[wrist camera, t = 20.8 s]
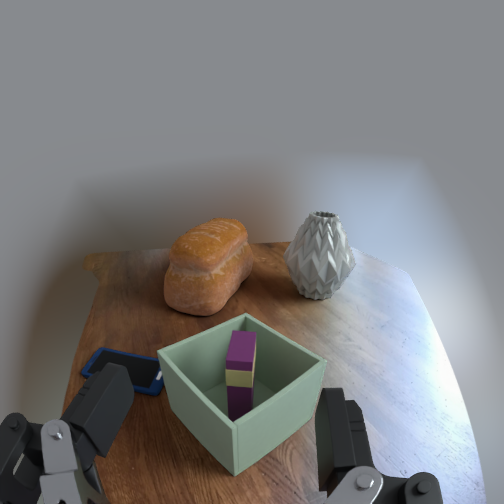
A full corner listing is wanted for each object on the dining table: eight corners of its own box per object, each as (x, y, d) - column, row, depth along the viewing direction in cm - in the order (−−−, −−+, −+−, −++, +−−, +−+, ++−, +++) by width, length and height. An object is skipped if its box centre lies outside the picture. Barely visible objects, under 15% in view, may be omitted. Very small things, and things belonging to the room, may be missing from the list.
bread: (158, 308, 57) (150, 238, 51) (211, 263, 80) (209, 210, 75) (217, 323, 53) (214, 247, 48) (257, 270, 77) (259, 214, 71)
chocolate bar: (233, 399, 35) (232, 329, 31) (253, 400, 35) (256, 331, 30) (228, 428, 30) (224, 360, 26) (250, 430, 30) (253, 362, 26)
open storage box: (245, 370, 41) (245, 312, 38) (311, 417, 32) (327, 360, 29) (171, 409, 33) (156, 350, 29) (234, 476, 24) (231, 429, 20)
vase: (266, 289, 66) (270, 211, 60) (310, 271, 77) (317, 204, 70) (322, 319, 55) (335, 229, 49) (361, 292, 65) (374, 218, 59)
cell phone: (158, 397, 35) (157, 393, 34) (80, 376, 36) (79, 372, 35) (173, 364, 41) (172, 360, 41) (100, 349, 42) (99, 346, 42)
